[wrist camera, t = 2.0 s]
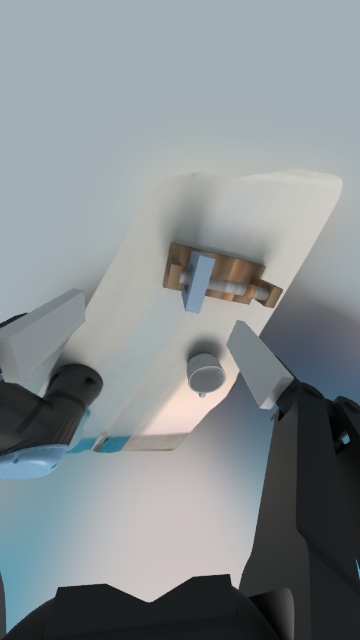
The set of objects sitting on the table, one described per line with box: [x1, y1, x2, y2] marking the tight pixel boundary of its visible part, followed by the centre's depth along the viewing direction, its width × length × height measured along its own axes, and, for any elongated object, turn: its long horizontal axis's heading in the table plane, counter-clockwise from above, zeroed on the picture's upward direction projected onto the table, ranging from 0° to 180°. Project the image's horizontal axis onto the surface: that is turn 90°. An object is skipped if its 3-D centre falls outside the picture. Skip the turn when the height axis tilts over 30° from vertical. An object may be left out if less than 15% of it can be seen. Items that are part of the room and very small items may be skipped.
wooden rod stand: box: [163, 243, 283, 308], centre depth 35 cm, size 23×10×10 cm, turn 77°
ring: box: [182, 251, 216, 313], centre depth 30 cm, size 2×9×10 cm, turn 167°
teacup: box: [187, 353, 226, 398], centre depth 49 cm, size 14×11×8 cm
